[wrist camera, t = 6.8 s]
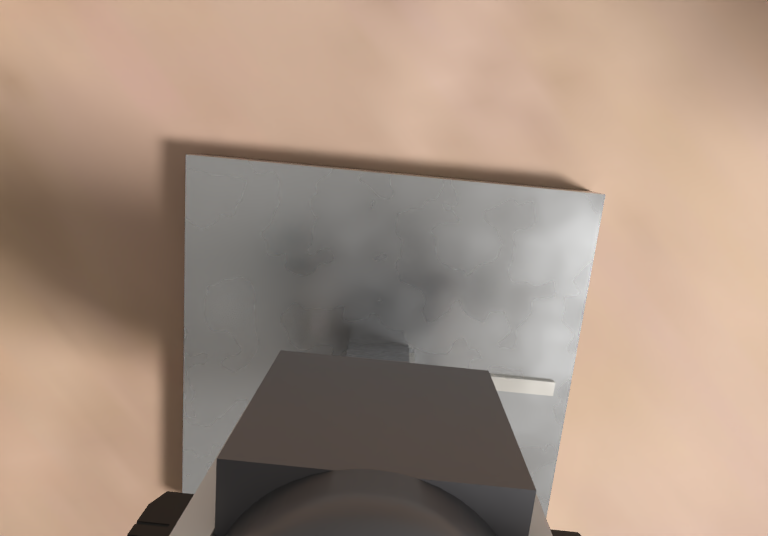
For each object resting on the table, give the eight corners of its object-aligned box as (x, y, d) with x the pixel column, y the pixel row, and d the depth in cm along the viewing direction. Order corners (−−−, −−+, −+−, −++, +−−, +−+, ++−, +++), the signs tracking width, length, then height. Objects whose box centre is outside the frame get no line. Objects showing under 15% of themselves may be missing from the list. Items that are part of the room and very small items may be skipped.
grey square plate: (194, 498, 25) (126, 615, 19) (199, 154, 22) (118, 156, 15) (531, 530, 25) (575, 659, 19) (591, 191, 22) (671, 209, 15)
